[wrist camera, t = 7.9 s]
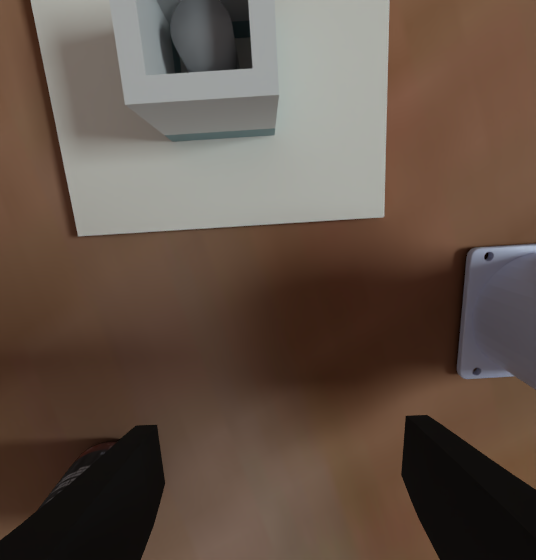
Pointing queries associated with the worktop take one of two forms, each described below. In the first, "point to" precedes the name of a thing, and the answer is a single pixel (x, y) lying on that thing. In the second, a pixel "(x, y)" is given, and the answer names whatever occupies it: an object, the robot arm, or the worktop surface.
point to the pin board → (229, 151)
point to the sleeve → (197, 73)
